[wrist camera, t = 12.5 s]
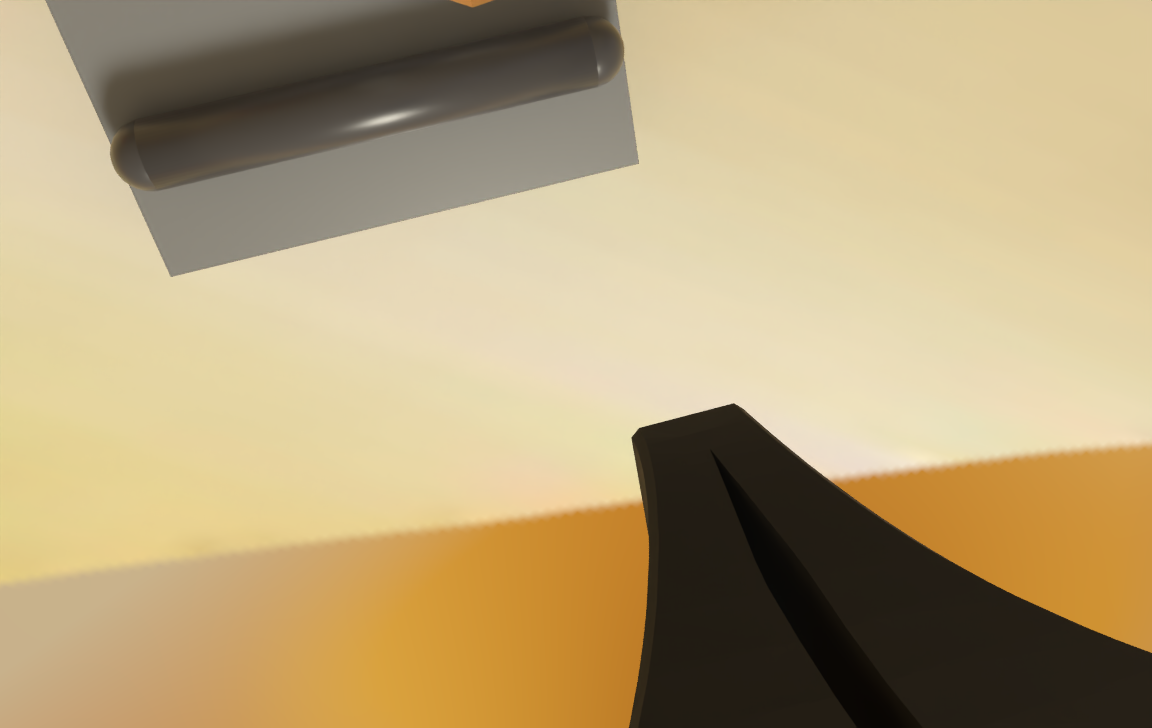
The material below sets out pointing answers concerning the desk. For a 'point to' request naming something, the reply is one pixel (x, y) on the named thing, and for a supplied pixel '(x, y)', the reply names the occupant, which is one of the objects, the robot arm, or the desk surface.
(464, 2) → the lever
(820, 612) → the robot arm
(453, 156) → the strip
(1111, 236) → the desk surface
